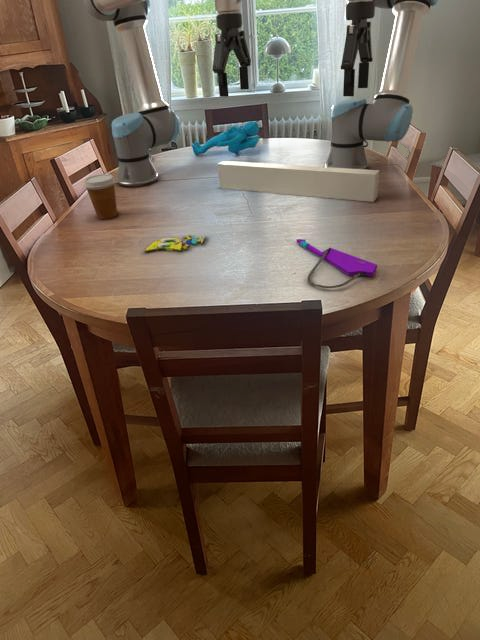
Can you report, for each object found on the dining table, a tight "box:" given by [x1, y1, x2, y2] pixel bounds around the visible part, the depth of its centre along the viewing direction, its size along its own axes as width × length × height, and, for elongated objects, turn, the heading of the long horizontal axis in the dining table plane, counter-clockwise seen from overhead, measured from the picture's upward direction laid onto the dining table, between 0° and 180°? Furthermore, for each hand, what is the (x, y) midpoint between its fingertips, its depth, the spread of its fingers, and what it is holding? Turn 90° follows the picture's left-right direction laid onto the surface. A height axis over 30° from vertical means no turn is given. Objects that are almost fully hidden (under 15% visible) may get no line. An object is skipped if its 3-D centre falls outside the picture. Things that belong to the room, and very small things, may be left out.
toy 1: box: [144, 234, 207, 254], centre depth 130 cm, size 10×1×15 cm
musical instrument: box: [295, 238, 378, 289], centre depth 112 cm, size 24×2×20 cm
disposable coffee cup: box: [83, 173, 118, 220], centre depth 151 cm, size 10×10×12 cm
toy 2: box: [191, 120, 261, 156], centre depth 207 cm, size 17×11×30 cm
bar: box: [217, 160, 380, 203], centre depth 157 cm, size 54×4×8 cm, turn 62°
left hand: (234, 92), depth 151 cm, fingers open, 13 cm apart
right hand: (355, 92), depth 134 cm, fingers open, 13 cm apart
